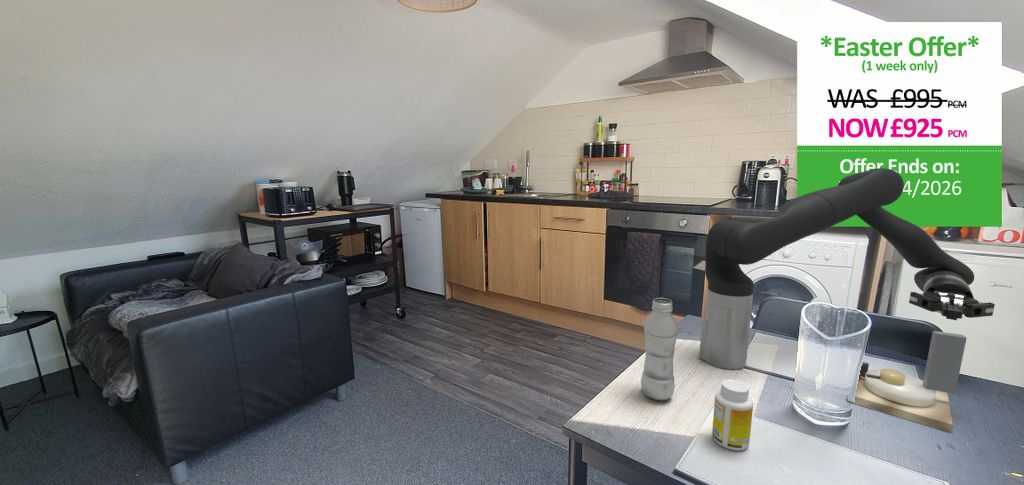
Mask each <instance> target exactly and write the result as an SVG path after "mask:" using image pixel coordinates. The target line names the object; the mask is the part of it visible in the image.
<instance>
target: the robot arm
mask: <svg viewBox="0 0 1024 485" xmlns="http://www.w3.org/2000/svg"><path fill="white" fill-rule="evenodd" d="M904 187H905V182H904V179H903V177H902V176H901V175H900V174H899V173H898V172H897V171H896V170H893V169H890V168H885V167H881V168H874V169H873V168H872V169H869V170H865V171H861V172H856V173H854V174H850V175H847V176H845V177H843V178H841V180H840V181H838V185H836V186H832V187H826V188H823V189H818V190H815V191H811V192H808V193H805V194H802V195H800V196H796V198H793V199H790V200H789V201H787V202H786V203H784V204H783V205H782V206H781V207H780V208H779V210H778V213H777V214H776V216H775V217H771V218H770V219H767V220H763V221H758V222H745V221H739V220H733V219H721V220H717V221H716V222H715V223H713V224H712V226H711V227H710V228H709V230H708V233H707V236H706V242H705V267H704V270H705V271H704V272H705V278H706V280H707V292H706V295H707V296H706V304H705V306H706V307H705V318H704V319H702V321H701V331H700V343H699V355H698V356H699V357H698V358H699V359H700V360H703V361H705V362H706V363H707V364H709V365H711V366H714V367H717V368H719V369H726V370H741V369H743V368H745V367H746V365H747V359H748V348H749V347H748V346H749V337H750V326H751V318H752V317H751V316H752V307H753V298H754V297H753V296H754V291H755V290H754V289H755V288H754V287H755V284H754V281H753V279H752V278H751V277H749V275H747V274H746V273H745V272H744V271H743V270H742V268H741V267H740V265H743V266H748V265H753V264H756V263H758V262H760V261H762V260H764V259H766V258H768V257H769V256H771V255H773V253H775V252H778V251H779V250H781V249H782V248H785V247H787V246H788V245H791V244H793V243H795V242H799V241H800V240H802V239H803V240H804V239H805V238H807V237H809V236H812V235H815V234H817V233H821V232H823V231H825V230H827V229H830V228H831V227H833V226H836V225H837V224H840V223H842V222H844V221H847V220H849V219H850V218H853V217H854V216H857V217H858V218H859V219H861V220H862V221H863V222H864V223H865V224H867V225H868V226H870V227H871V228H872V229H873V230H874V231H876V233H878V234H879V235H881V236H882V237H883V238H884V239H885V240H887V242H889V244H890V245H892V247H893V248H894V249H895V250H896V251H897V252H898V254H900V256H901V257H902V258H903V259H904V261H905V262H906V263H907V264H908V265H909V266H911V267H912V268H914V269H921V270H919V271H917V272H916V273H914V277H913V280H914V283H915V285H916V286H917V288H918V289H919V290H920V291H921V292H922V293H918V292H917V291H910V294H909V300H908V303H909V304H911V305H914V306H916V307H918V308H920V309H923V310H926V311H929V312H931V313H934V312H935V313H939V314H940V315H941V316H942V317H945V318H946V319H947V320H952V321H958V319H959V320H960V319H961V320H962V319H963V315H964V317H966V318H968V319H970V318H971V319H973V318H982V317H983V318H984V317H993V315H994V310H995V306H996V305H995V303H993V302H982V301H979V300H977V299H975V298H974V297H975V296H974V294H973V292H972V289H971V288H970V285H972V284H973V283H974V281H975V272H973V270H972V269H971V268H970V267H969V266H968V265H966V263H964V262H962V261H960V260H959V259H957V258H955V257H953V256H952V255H950V254H948V253H947V252H946V251H945V250H943V249H942V248H941V247H940V246H939V245H938V244H937V243H936V242H935V240H934V239H933V238H932V237H931V235H929V233H928V232H927V231H925V230H924V229H923V228H921V227H920V226H918V225H916V224H914V223H913V222H910V221H909V220H906V219H904V218H902V217H899V216H897V215H895V214H893V213H892V212H890V211H889V210H887V209H885V208H884V207H886V206H889V205H891V204H893V203H895V202H896V201H897V200H898V199H899V198H900V197H901V196H902V194H903V192H904Z"/></svg>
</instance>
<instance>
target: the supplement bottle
mask: <svg viewBox="0 0 1024 485" xmlns="http://www.w3.org/2000/svg"><path fill="white" fill-rule="evenodd" d="M749 392H750V387H749V386H748V385H747V384H746V383H745V382H742V381H740V380H736V379H730V378H729V379H724V380H722V382H721V386H720V389H719V390H717V391H716V392H715V395H714V405H713V419H712V428H711V429H712V430H711V435H712V438H713V440H714V441H715V443H717V444H718V445H719V446H721V447H722V448H725V449H728V450H731V451H738V452H739V451H744V450H746V449H748V448H749V446H750V442H751V440H750V439H751V430H752V419H753V411H754V401H753V399H752V397H750V393H749Z"/></svg>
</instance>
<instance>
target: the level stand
mask: <svg viewBox="0 0 1024 485" xmlns="http://www.w3.org/2000/svg"><path fill="white" fill-rule="evenodd" d="M861 363H862V364H861V365H862V366H861V370H860V375H859V380H858V384H857V389H856V395H855V404H854V405H858V406H860V407H865V408H868V409H870V410H871V409H872V410H874V411H879V412H881V413H885V414H888V415H891V416H895V417H897V418H901V419H904V420H908V421H910V422H911V421H912V422H915V423H918V424H921V425H924V426H928V427H931V428H934V429H937V430H941V431H945V432H947V433H952V430H953V425H954V424H953V418H952V413H951V406H950V400H949V395H948V394H949V393H947V392H941V391H936V397H935V402H934V404H933V405H931V406H925V407H920V406H911V405H906V404H901V403H897V402H894V401H891V400H888V399H886V398H883V397H881V396H879V395H877V394H875V393H873V392H872V391H870V390H869V389H868V388H867V387H866V386H865V384H864V382H865V376H866V372H868V371H869V366H870V363H868V362H865V361H863V362H861Z"/></svg>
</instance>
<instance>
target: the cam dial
mask: <svg viewBox="0 0 1024 485" xmlns="http://www.w3.org/2000/svg"><path fill="white" fill-rule="evenodd" d="M966 344H967V337H966V336H965V335H964V334H960V333H952V332H945V331H937V330H932V334H931V339H930V344H929V350H928V353H927V354H928V355H927V361H926V364H925V365H926V366H925V371H924V374H923V376H924V377H923V380H922V379H920V378H917V377H914V376H913V375H909V374H906V373H903V372H901V371H898V370H895V369H892V368H890V369H889V368H881V369H870V370H868V372H866V376H865V382H864V384H865V386H866V387H867V388H868V389H869V390H870V391H872V392H873V393H875V394H877V395H879V396H881V397H883V398H886V399H888V400H891V401H894V402H897V403H901V404H906V405H911V406H920V407H925V406H931V405H933V404H934V402H935V397H936V391H941V392H947V393H948V394H952V395H953V394H954V395H956V392H957V386H958V381H959V377H960V373H961V367H962V363H963V358H964V353H965V348H966V347H965V346H966Z"/></svg>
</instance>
